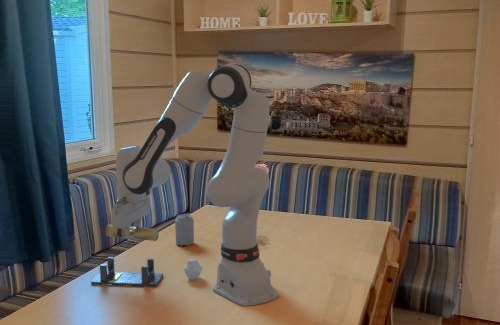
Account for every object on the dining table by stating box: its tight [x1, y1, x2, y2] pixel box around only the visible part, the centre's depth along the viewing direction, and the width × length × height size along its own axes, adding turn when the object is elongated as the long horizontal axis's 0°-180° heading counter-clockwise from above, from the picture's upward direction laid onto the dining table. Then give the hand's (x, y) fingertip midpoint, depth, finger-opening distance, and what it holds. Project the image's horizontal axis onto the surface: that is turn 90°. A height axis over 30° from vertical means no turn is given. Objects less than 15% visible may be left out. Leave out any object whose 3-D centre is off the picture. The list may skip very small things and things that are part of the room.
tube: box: [104, 224, 160, 242], centre depth 169 cm, size 18×4×4 cm, turn 74°
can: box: [174, 213, 195, 246], centre depth 205 cm, size 8×8×12 cm
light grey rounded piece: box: [183, 258, 203, 281], centre depth 170 cm, size 6×6×7 cm
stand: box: [90, 256, 164, 288], centre depth 168 cm, size 22×9×6 cm, turn 85°
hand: (132, 233), depth 169 cm, fingers closed on tube, 4 cm apart
